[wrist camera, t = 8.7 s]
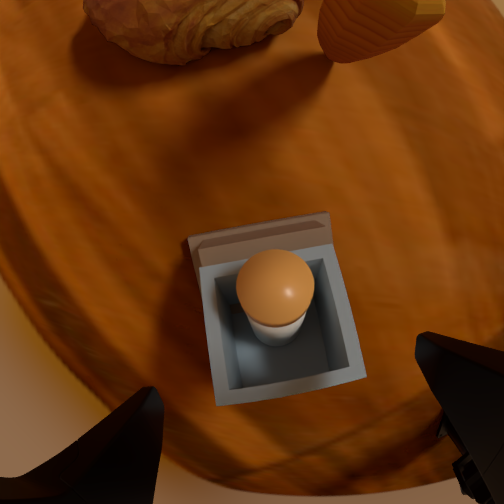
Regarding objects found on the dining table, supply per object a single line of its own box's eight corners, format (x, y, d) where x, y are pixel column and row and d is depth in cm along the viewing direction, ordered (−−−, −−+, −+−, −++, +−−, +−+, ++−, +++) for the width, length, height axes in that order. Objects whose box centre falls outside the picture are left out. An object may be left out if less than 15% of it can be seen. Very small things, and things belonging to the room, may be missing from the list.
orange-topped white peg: (307, 341, 18) (322, 313, 12) (255, 351, 18) (242, 328, 12) (296, 293, 19) (304, 243, 13) (247, 302, 19) (231, 256, 13)
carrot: (368, 91, 17) (534, 4, 2) (298, 85, 17) (410, -71, 2) (359, 33, 16) (478, -83, 1) (293, 25, 16) (360, -137, 1)
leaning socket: (337, 347, 22) (379, 425, 13) (223, 369, 22) (217, 457, 13) (325, 211, 19) (386, 236, 10) (189, 235, 19) (151, 279, 11)
